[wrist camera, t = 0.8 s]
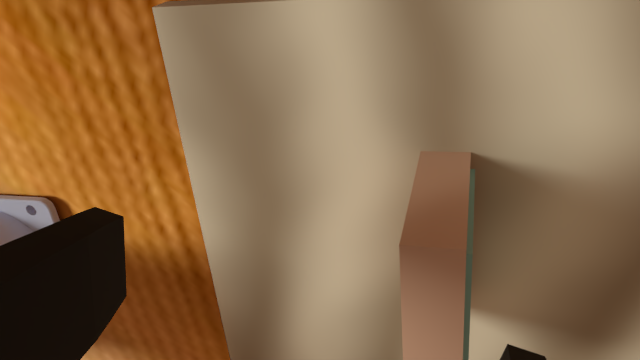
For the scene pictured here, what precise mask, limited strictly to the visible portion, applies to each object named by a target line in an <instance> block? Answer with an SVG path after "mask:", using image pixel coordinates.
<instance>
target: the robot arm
mask: <svg viewBox="0 0 640 360" xmlns="http://www.w3.org/2000/svg"><path fill="white" fill-rule="evenodd" d="M33 207H34V208H35V209H34V208H33ZM125 297H126V271H125V246H124V221H123V216H120V215H117V214H114V213H111V212H108V211H105V210H102V209H99V208H96V207H94V208H91V209H88V210H86V211H83V212H80V213H78V214H75V215H73V216H70V217H68V218H65V219H63V220H61V221H60V220H59V217H58V214H57V211H56V208H55V206H54V204H53V203H52V202H51V201H50V200H48V199H47V198H43V197H27V196H8V195H0V360H80V359H81V358H82V357H83V356H84V354H85V353H86V352H87V351H88V350H89V349H90V347H91V346H92V345H93V344H94V343H95V342H96V340H97V339H98V337H99V336H100V335H101V333H102V332H103V330H104V329H105V327H106V326H107V325H108V323H109V322H110V320H111V319H112V317H113V316H114V314H115V313H116V311H117V310H118V308H119V306H120V305H121V303H122V302H123V300H124V299H125ZM500 360H547V359H546V358H545V356H543V355H540V354H537V353H534V352H531V351H528V350H525V349H522V348H519V347H516V346H512V345H509V344H507V346H506V348H505V350H504V352H503V354H502V356H501V358H500Z"/></svg>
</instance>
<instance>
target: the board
mask: <svg viewBox="0 0 640 360" xmlns="http://www.w3.org/2000/svg"><path fill="white" fill-rule="evenodd" d="M152 9H153V14H154V18H155V23H156V27H157V32H158V36H159V41H160V45H161V50H162V54H163V59H164V63H165V68H166V72H167V77H168V81H169V86H170V90H171V95H172V99H173V104H174V108H175V113H176V117H177V122H178V126H179V131H180V135H181V140H182V144H183V148H184V153H185V157H186V162H187V166H188V171H189V175H190V180H191V184H192V189H193V193H194V198H195V202H196V207H197V211H198V216H199V220H200V225H201V229H202V234H203V238H204V243H205V247H206V252H207V256H208V261H209V265H210V270H211V274H212V279H213V283H214V288H215V292H216V297H217V301H218V306H219V310H220V315H221V319H222V324H223V328H224V333H225V337H226V342H227V346H228V351H229V355H230V360H403V348H402V317H401V286H400V256H399V244H400V239H401V235H402V230H403V226H404V222H405V217H406V213H407V209H408V204H409V200H410V195H411V191H412V187H413V182H414V178H415V174H416V169H417V165H418V160H419V156H420V152H421V151H437V152H471V165H470V169H475V192H474V226H473V259H472V284H471V310H470V335H469V360H500V358H501V356H502V354H503V352H504V350H505V348H506V346H507V344H509V345H512V346H516V347H519V348H522V349H525V350H528V351H531V352H534V353H537V354H540V355H543V356H545V358H546V359H547V360H640V0H187V1H169V2H164V3H162V4H159V5H157V6H154V7H152Z"/></svg>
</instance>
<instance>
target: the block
mask: <svg viewBox="0 0 640 360" xmlns="http://www.w3.org/2000/svg"><path fill="white" fill-rule="evenodd" d="M470 165H471V152H437V151H421V152H420V156H419V160H418V165H417V169H416V174H415V178H414V182H413V187H412V191H411V195H410V200H409V204H408V209H407V213H406V217H405V222H404V226H403V230H402V235H401V239H400V244H399V256H400V286H401V317H402V348H403V360H469V335H470V310H471V284H472V259H473V226H474V192H475V169H470Z"/></svg>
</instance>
